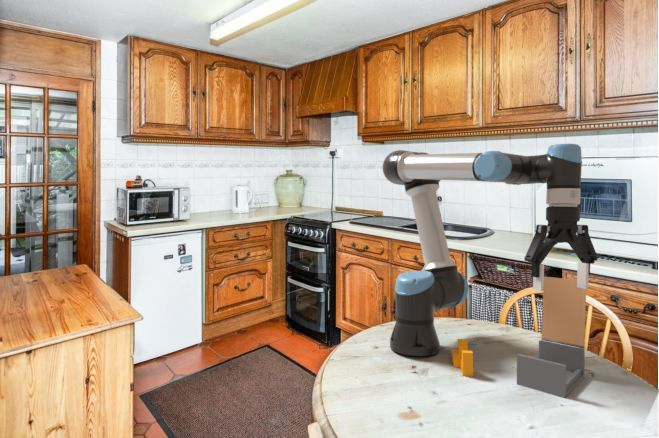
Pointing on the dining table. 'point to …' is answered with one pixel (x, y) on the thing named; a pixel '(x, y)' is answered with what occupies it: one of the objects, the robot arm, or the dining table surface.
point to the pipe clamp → (463, 358)
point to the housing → (552, 369)
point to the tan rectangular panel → (563, 312)
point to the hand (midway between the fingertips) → (560, 289)
